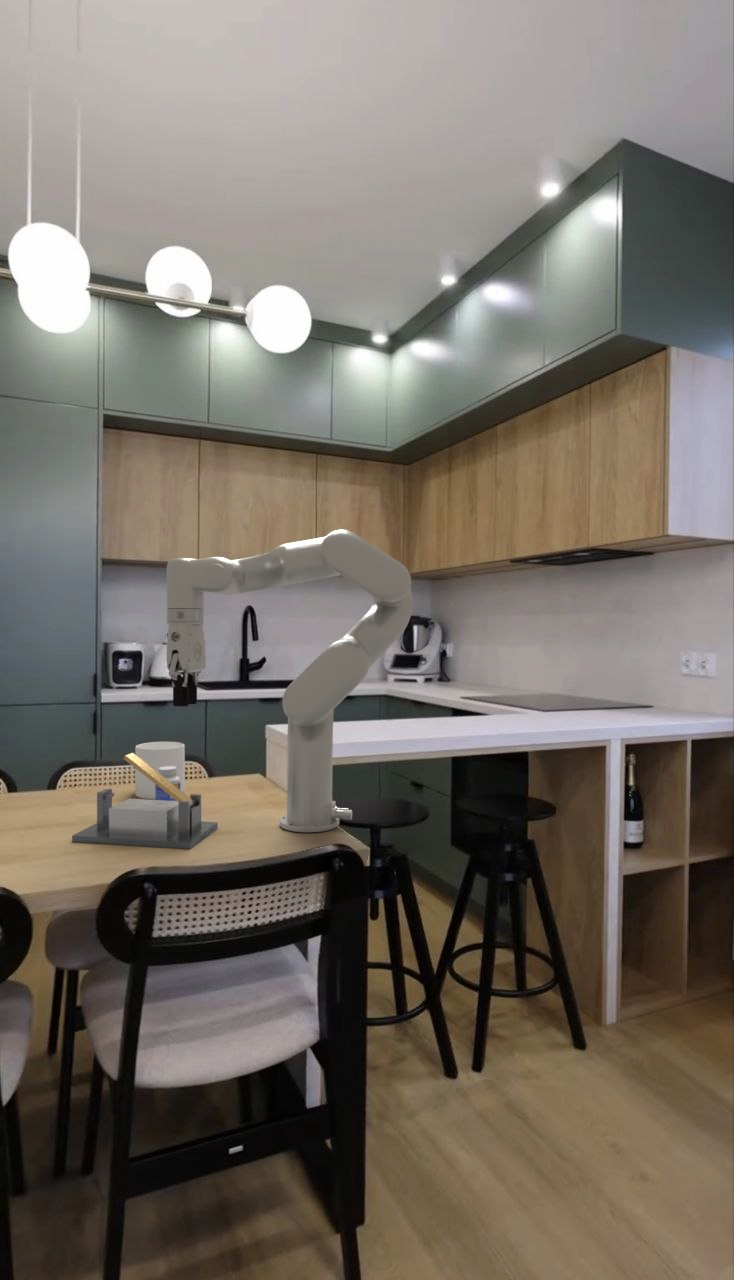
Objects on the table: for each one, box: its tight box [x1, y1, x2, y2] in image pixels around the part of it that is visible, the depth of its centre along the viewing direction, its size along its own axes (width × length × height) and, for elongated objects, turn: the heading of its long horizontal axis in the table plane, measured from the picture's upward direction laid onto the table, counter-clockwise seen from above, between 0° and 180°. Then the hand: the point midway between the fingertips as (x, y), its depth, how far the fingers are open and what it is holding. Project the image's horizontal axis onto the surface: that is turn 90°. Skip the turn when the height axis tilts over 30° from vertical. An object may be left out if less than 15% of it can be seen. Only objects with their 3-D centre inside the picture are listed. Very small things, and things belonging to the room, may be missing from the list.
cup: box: [134, 741, 186, 800], centre depth 178 cm, size 12×12×12 cm
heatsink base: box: [71, 788, 219, 850], centre depth 143 cm, size 24×14×8 cm, turn 81°
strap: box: [123, 752, 196, 807], centre depth 142 cm, size 16×4×1 cm
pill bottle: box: [154, 766, 180, 801], centre depth 161 cm, size 5×5×10 cm
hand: (185, 704), depth 151 cm, fingers open, 3 cm apart
